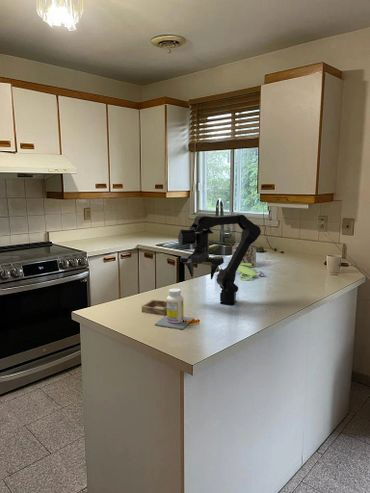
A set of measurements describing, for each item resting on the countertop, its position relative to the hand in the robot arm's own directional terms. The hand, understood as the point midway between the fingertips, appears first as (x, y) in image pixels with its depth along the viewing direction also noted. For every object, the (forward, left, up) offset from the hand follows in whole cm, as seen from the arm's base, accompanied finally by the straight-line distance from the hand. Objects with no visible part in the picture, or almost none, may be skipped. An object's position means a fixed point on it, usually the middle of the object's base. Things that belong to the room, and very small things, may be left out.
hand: (201, 278), depth 168 cm
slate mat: (+3, +23, -13) cm, 27 cm away
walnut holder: (+16, +12, -13) cm, 24 cm away
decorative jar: (+2, -86, -13) cm, 87 cm away
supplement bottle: (+3, +23, -13) cm, 26 cm away
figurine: (-3, -66, -14) cm, 67 cm away
